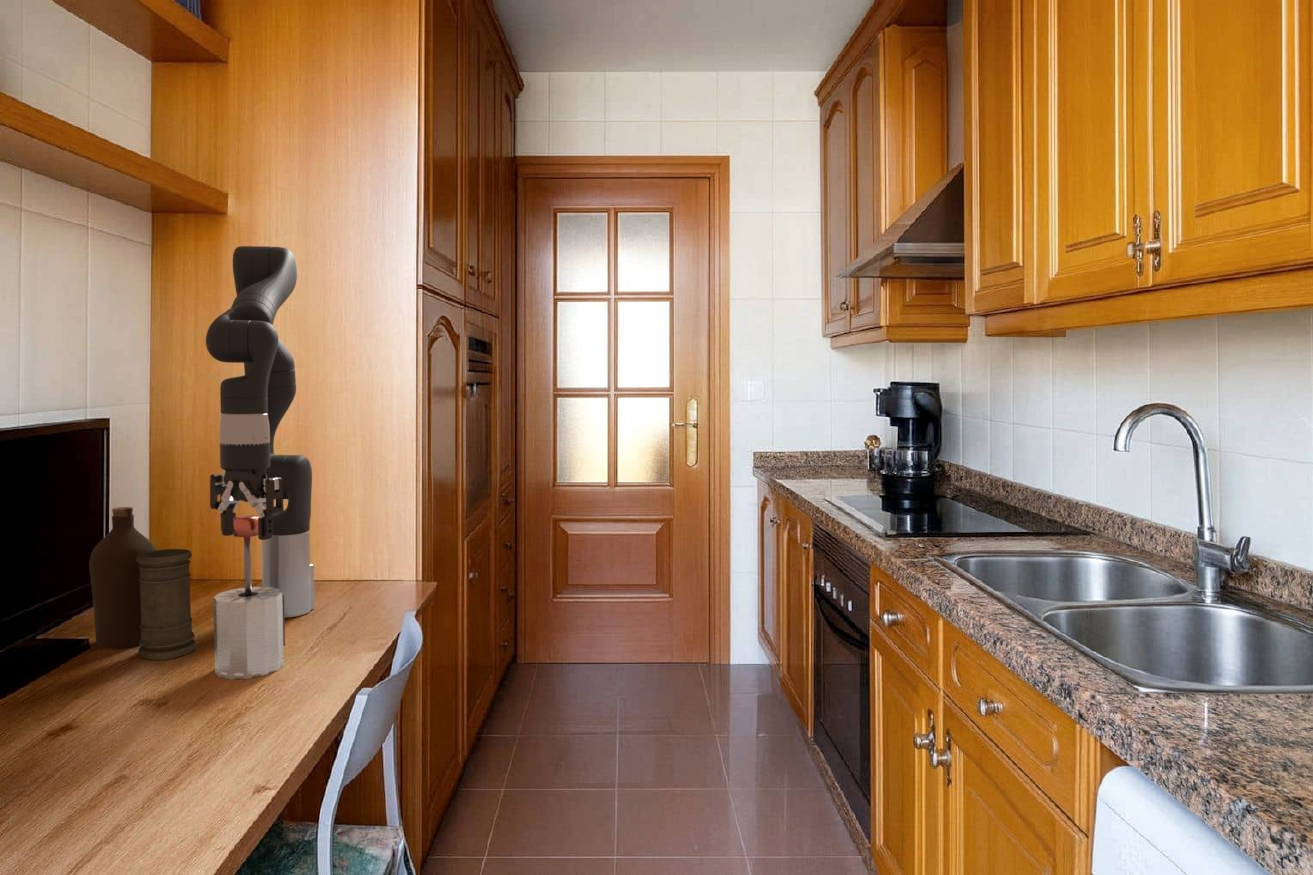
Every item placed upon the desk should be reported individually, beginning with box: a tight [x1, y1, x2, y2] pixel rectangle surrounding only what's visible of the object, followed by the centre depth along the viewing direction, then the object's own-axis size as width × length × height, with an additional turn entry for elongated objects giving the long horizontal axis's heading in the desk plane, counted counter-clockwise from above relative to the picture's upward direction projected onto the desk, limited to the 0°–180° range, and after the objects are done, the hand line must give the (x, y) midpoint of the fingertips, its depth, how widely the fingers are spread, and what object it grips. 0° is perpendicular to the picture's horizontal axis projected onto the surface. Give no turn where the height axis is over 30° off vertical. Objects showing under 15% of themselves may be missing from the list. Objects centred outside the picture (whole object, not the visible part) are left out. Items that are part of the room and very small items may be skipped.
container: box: [136, 548, 197, 661], centre depth 145 cm, size 9×9×18 cm
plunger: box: [233, 514, 260, 597], centre depth 137 cm, size 7×7×17 cm
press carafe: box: [213, 586, 286, 680], centre depth 139 cm, size 12×10×13 cm
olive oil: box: [88, 506, 157, 650], centre depth 150 cm, size 11×11×25 cm
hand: (246, 537), depth 137 cm, fingers open, 8 cm apart
